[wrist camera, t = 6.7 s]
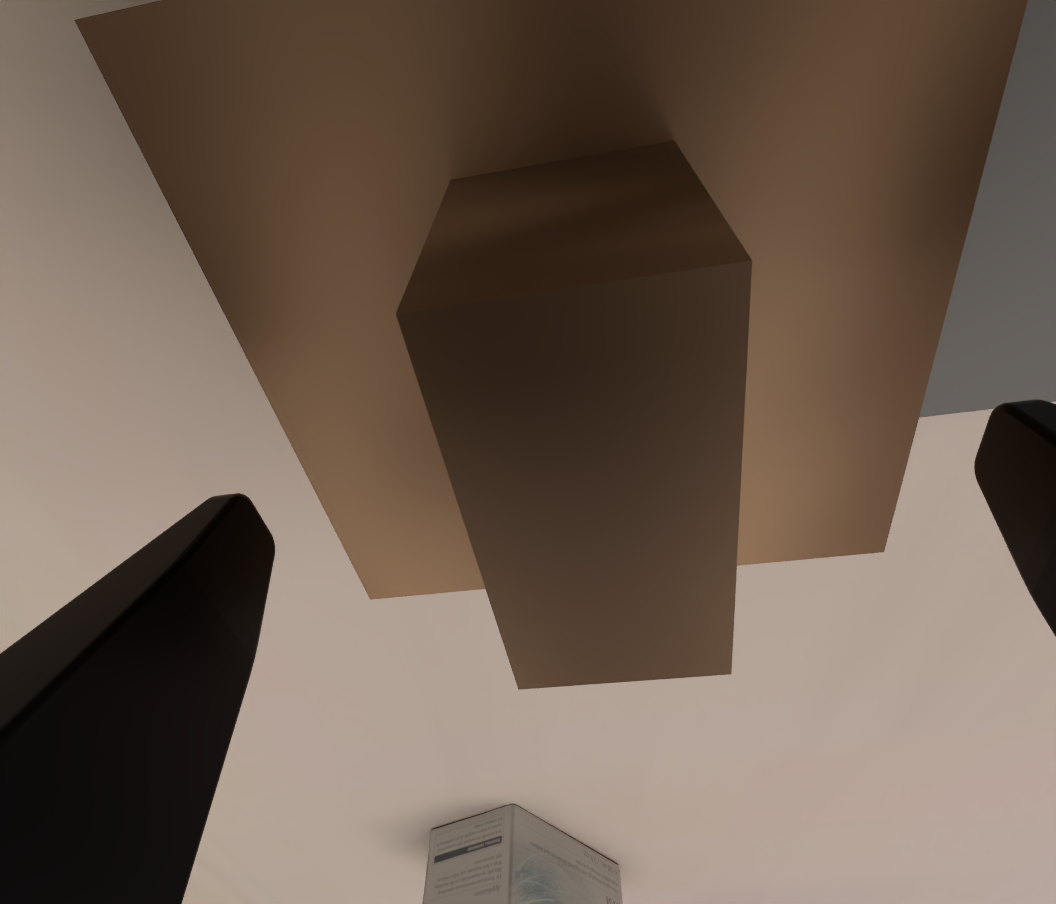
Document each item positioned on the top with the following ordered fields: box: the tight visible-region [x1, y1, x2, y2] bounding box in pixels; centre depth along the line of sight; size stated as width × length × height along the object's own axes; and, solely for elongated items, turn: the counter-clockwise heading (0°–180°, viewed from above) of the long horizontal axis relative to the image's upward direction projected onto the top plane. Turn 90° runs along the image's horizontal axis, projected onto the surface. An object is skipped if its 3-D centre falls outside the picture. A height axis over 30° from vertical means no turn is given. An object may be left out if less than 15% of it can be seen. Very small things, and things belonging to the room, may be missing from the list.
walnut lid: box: [75, 0, 1028, 689], centre depth 9 cm, size 11×11×5 cm
